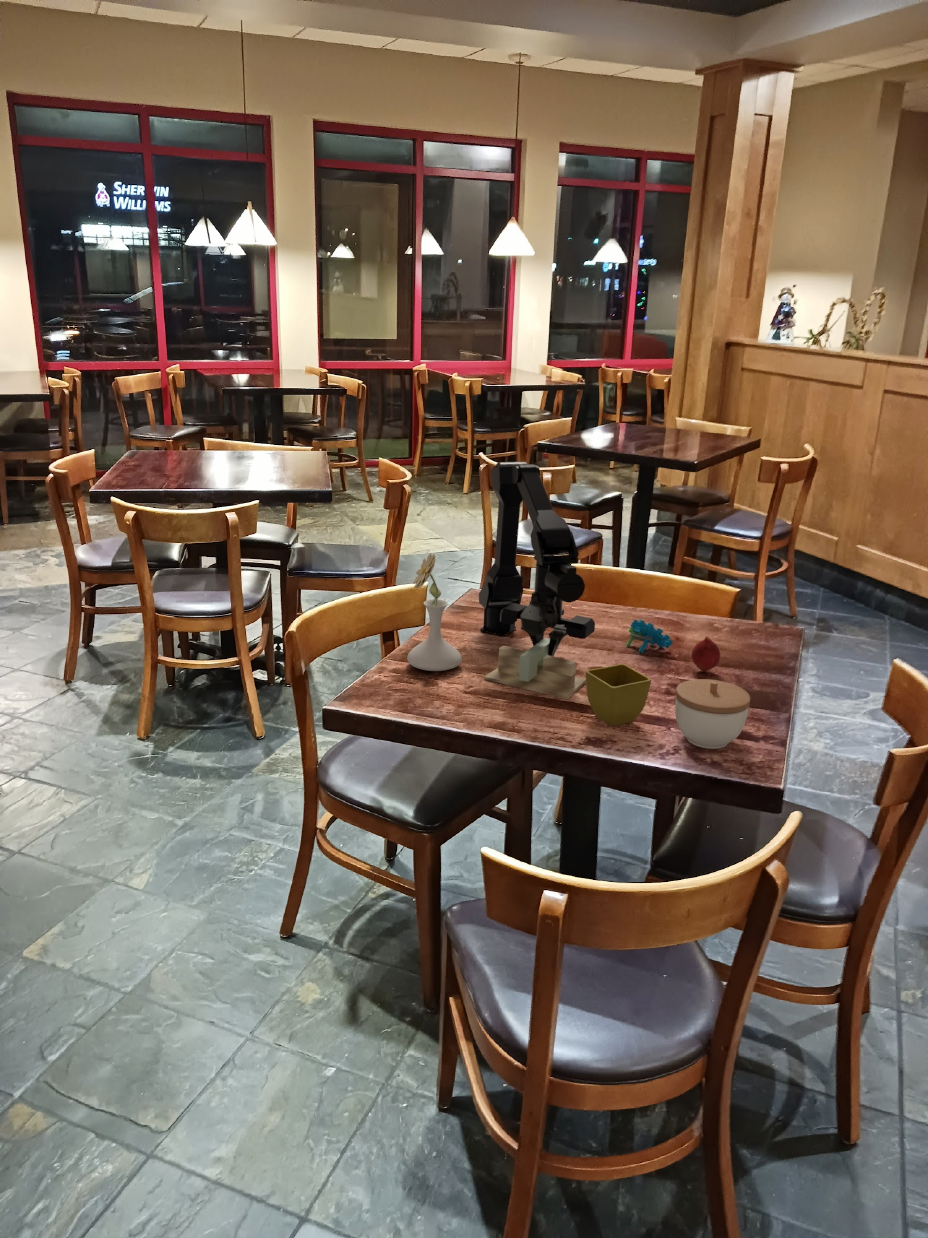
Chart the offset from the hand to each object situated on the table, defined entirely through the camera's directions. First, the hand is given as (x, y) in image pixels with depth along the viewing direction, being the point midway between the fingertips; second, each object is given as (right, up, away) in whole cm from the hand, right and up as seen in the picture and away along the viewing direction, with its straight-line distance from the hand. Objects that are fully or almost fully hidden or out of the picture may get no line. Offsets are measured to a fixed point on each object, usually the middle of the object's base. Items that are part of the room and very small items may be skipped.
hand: (544, 659), depth 188 cm
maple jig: (-2, -4, -2) cm, 5 cm away
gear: (+25, +1, +17) cm, 30 cm away
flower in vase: (-23, -2, +3) cm, 23 cm away
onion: (+34, -3, +5) cm, 35 cm away
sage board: (-2, -2, -3) cm, 4 cm away
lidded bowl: (+27, -13, -25) cm, 39 cm away
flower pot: (+11, -10, -19) cm, 24 cm away
